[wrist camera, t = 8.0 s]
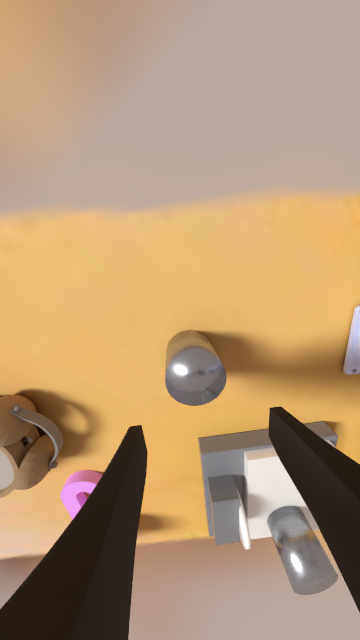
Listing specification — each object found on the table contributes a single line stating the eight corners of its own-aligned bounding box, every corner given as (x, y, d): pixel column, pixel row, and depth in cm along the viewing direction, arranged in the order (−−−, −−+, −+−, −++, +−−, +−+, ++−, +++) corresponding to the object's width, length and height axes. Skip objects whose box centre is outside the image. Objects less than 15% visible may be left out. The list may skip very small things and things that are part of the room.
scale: (323, 421, 23) (379, 478, 17) (310, 502, 28) (349, 570, 22) (198, 438, 23) (209, 502, 17) (206, 517, 28) (217, 590, 21)
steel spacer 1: (213, 330, 19) (229, 352, 14) (210, 371, 20) (223, 405, 15) (166, 330, 18) (165, 352, 13) (166, 372, 20) (165, 406, 15)
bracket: (128, 526, 27) (114, 610, 21) (91, 532, 27) (66, 619, 21) (103, 465, 23) (76, 546, 17) (60, 473, 23) (16, 556, 17)
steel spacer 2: (290, 500, 23) (323, 564, 18) (309, 515, 24) (345, 579, 19) (259, 520, 23) (283, 586, 19) (280, 533, 25) (307, 599, 20)
